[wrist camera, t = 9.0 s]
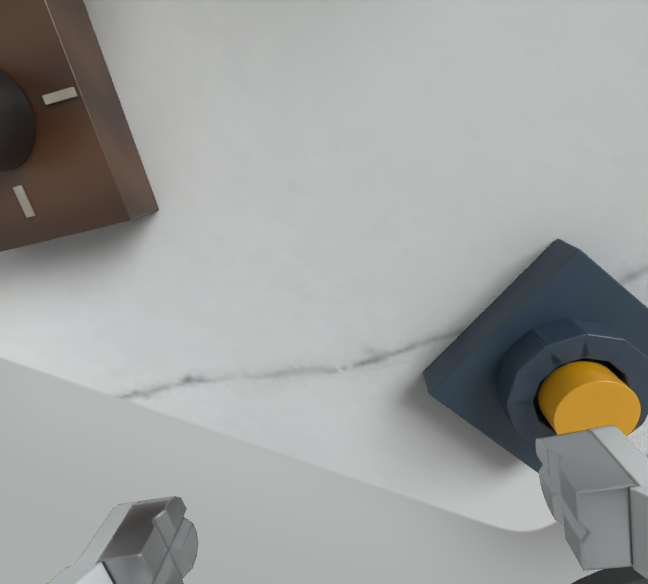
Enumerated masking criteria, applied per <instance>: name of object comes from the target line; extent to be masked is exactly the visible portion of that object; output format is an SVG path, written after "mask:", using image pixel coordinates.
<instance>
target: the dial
mask: <svg viewBox="0 0 648 584" xmlns="http://www.w3.org/2000/svg"><path fill="white" fill-rule="evenodd" d="M35 133H36V129H35V120H34V116H33V112H32V109H31V107H30V104H29V102H28V100H27V98H26V96H25V95H24V93H23V92H22V90H21V89H20V88H19V86H18V85H17V84H16V83H15V82H14V81H13V80H12V79H11V78H10V77H9V76H8V75H7V74H5V73H4V72H3V71H2V70H0V172H2V171H8V170H12V169H14V168H16V167H18V166H19V165H21V164H22V163H23V162H24V161H25V160H26V159H27V157H28V156H29V155H30V153H31V151H32V148H33V146H34V141H35Z"/></svg>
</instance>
